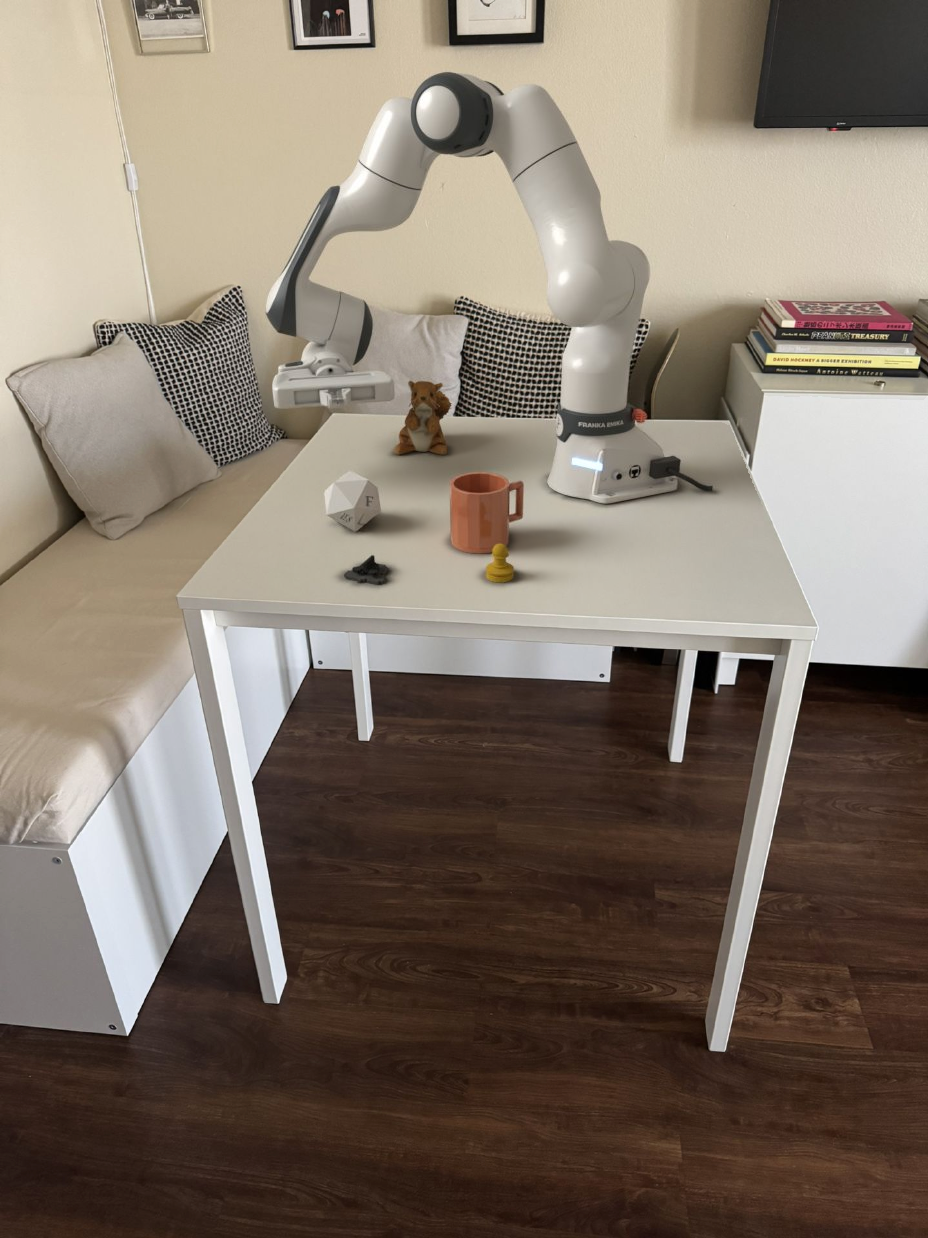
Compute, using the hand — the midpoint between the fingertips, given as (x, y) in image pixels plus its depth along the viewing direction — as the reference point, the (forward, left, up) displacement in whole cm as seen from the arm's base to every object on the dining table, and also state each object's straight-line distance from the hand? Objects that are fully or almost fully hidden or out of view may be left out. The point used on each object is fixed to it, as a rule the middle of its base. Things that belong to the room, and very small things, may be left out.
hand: (338, 403), depth 145 cm
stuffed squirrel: (-18, -23, -17) cm, 34 cm away
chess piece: (-18, +34, -17) cm, 42 cm away
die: (0, +11, -17) cm, 20 cm away
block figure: (0, +29, -17) cm, 34 cm away
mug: (-20, +21, -16) cm, 34 cm away
